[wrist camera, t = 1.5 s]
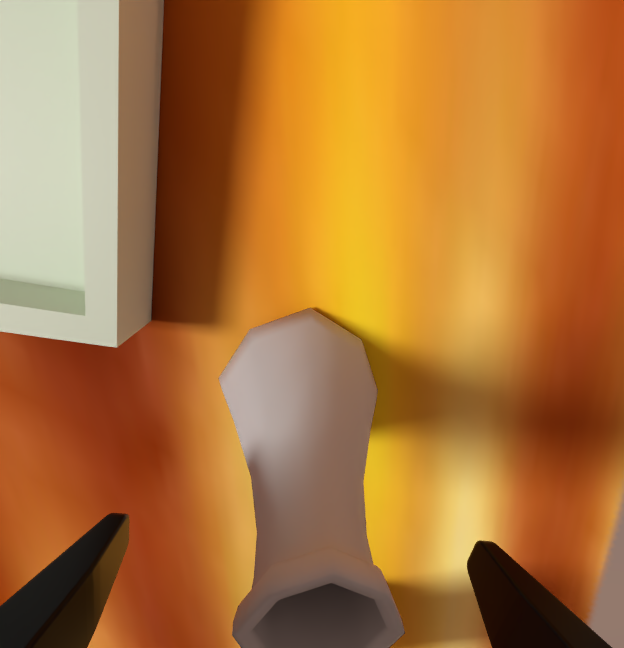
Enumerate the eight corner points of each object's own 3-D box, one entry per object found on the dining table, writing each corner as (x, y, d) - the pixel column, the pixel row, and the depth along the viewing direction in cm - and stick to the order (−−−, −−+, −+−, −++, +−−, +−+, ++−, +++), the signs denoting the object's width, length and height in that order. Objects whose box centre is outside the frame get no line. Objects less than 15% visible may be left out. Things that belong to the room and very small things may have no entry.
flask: (313, 277, 14) (370, 406, 5) (400, 389, 16) (561, 633, 7) (191, 373, 15) (32, 640, 6) (289, 466, 17) (292, 771, 8)
